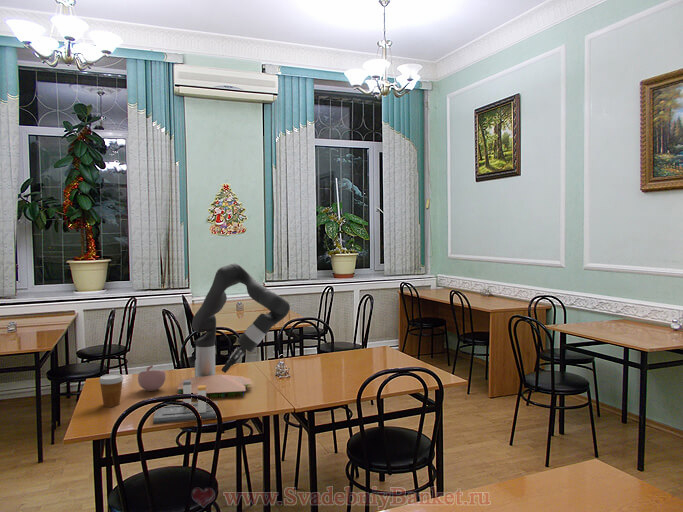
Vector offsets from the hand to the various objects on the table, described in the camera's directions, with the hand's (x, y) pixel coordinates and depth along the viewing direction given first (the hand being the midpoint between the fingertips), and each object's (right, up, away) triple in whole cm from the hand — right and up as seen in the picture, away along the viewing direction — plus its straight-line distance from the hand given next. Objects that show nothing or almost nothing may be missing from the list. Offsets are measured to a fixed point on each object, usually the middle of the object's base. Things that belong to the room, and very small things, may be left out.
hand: (223, 371), depth 203 cm
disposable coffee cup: (-50, -17, +13) cm, 55 cm away
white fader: (-16, -16, +6) cm, 24 cm away
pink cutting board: (-11, -17, +32) cm, 38 cm away
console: (-15, -18, +2) cm, 23 cm away
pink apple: (-41, -17, +33) cm, 55 cm away
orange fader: (-8, -17, -1) cm, 19 cm away
